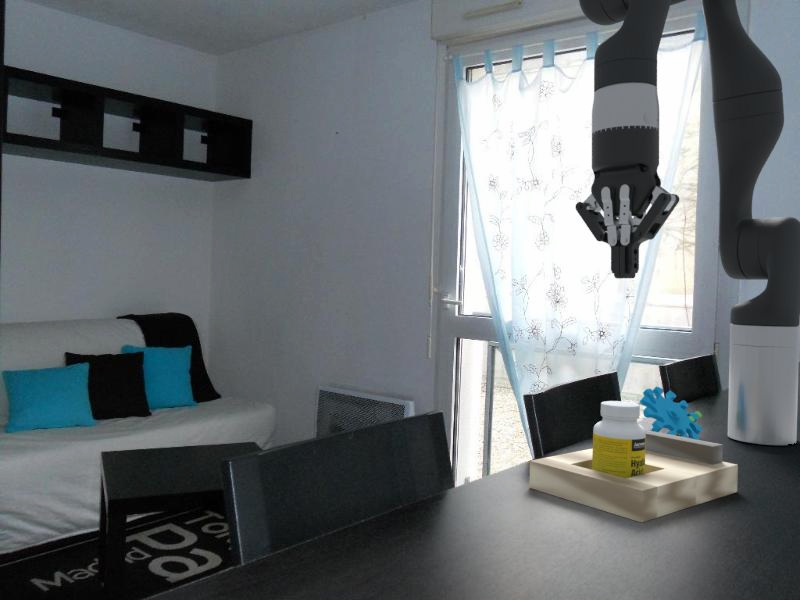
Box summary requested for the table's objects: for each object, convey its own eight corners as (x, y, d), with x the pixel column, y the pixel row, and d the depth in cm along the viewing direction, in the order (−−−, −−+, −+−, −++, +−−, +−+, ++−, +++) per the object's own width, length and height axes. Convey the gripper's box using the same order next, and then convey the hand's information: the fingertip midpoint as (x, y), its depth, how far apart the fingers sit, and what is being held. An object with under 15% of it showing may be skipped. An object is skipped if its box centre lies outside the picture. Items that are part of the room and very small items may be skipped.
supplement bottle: (637, 505, 72) (639, 409, 72) (584, 496, 75) (586, 404, 74) (649, 492, 76) (651, 402, 76) (600, 484, 79) (601, 397, 79)
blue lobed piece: (663, 437, 98) (635, 380, 105) (638, 460, 102) (612, 404, 109) (721, 442, 102) (690, 388, 109) (695, 464, 106) (667, 410, 113)
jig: (626, 465, 88) (627, 425, 88) (737, 491, 77) (738, 446, 77) (529, 487, 77) (530, 442, 77) (641, 522, 66) (642, 469, 66)
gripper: (695, 124, 79) (694, 277, 80) (596, 142, 90) (596, 278, 90) (658, 114, 75) (658, 278, 75) (559, 135, 85) (559, 278, 85)
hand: (624, 278), depth 83 cm, fingers closed
